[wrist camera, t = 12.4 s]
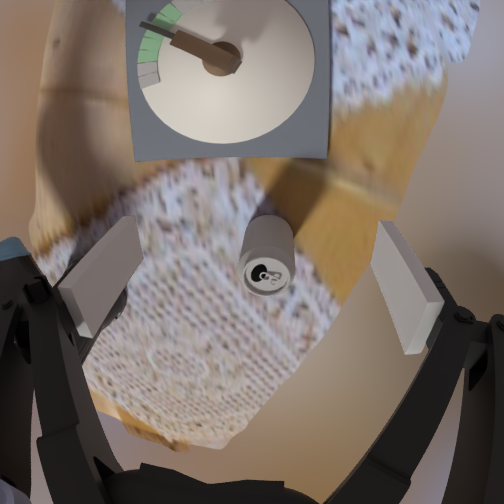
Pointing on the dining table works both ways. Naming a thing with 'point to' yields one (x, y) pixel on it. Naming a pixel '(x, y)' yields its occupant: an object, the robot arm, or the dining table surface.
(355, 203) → the dining table surface
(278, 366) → the dining table surface
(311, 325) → the dining table surface
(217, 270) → the dining table surface
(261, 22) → the dial board
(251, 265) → the can
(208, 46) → the dial pointer knob
